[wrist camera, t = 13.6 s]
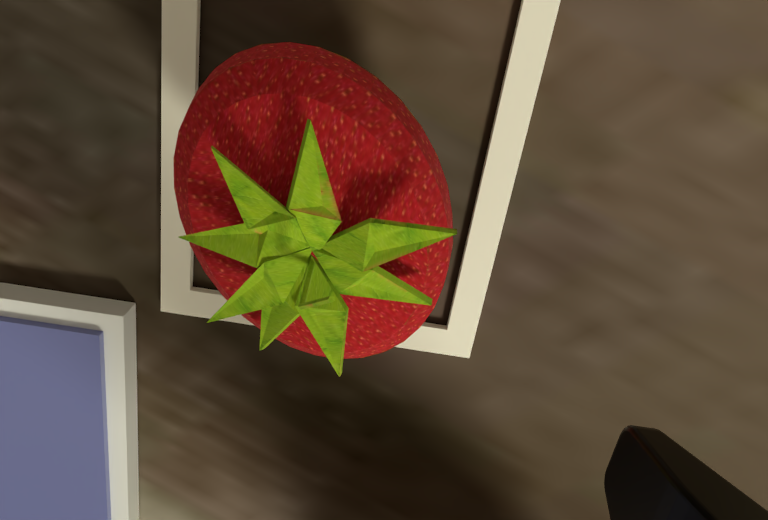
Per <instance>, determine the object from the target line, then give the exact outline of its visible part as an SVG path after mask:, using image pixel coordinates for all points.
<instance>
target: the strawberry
mask: <svg viewBox="0 0 768 520" xmlns="http://www.w3.org/2000/svg"><path fill="white" fill-rule="evenodd" d="M173 160H174V190H175V195H176V201H177V206H178V211H179V216H180V219H181V222H182V225H183V227H184V230H185V233H186V235H184V236H179V238H181V239H183V240H186V241H189V243H190V246H191V248H192V250H193V252H194V253H195V255H196V257H197V259H198V261H199V262H200V264H201V266H202V268H203V270H204V271H205V273H206V274H207V276H208V277H209V278H210V280H211V281H212V282H213V284H214V285H215V286H216V288H217V289H218V290H219V292H220V293H221V294H222V296H223V297H224V298H225V299H226V300H227V302H226V303H225V304H224V305H223V306H222V307H221V308H220V309H219V310H218V311H217V312H216V313H215V314H214V315H213V316H212V317H211V318H210V319H209V320H208V322H207V323H209V322H213V321H217V320H221V319H225V318H229V317H233V316H237V315H242V316H243V317H244V318H246V319H247V320H248V321H250V322H251V323H252V324H254V325H255V326H256V327H258V328H259V329H260V330H261V331H260V350H263V349H265V348H266V347H267V346H268V345H269V344H270V343H271V342H272V341H273V340H274V339H277V340H278V341H280V342H282V343H284V344H286V345H288V346H290V347H292V348H295V349H298V350H301V351H304V352H307V353H310V354H313V355H317V356H323V357H327V358H328V360H329V362H330V363H331V365H332V366H333V368H334V370H335V371H336V373H337V374H338V376H339V377H340V375H341V374H342V367H343V359H348V358H364V357H367V356H371V355H375V354H379V353H383V352H385V351H387V350H389V349H391V348H393V347H395V346H397V345H399V344H401V343H402V342H404V341H405V340H406V339H407V338H409V337H410V336H411V335H412V334H413V333H414V332H415V331H417V330H418V329H419V328H420V327H421V326H422V324H423V323H424V322H425V320H426V319H427V317H428V316H429V315H430V313H431V312H432V310H433V309H434V307H435V305H436V302H437V300H438V298H439V295H440V293H441V290H442V288H443V286H444V282H445V279H446V275H447V271H448V267H449V262H450V256H451V251H452V246H453V235H456V234H457V229H453V225H452V210H451V204H450V197H449V190H448V185H447V182H446V179H445V176H444V173H443V171H442V168H441V165H440V162H439V159H438V156H437V154H436V152H435V150H434V149H433V147H432V145H431V143H430V141H429V139H428V138H427V136H426V134H425V132H424V130H423V128H422V126H421V125H420V124H419V123H418V121H417V120H416V119H415V117H414V116H413V115H412V113H411V112H410V111H409V110H408V108H407V107H406V106H405V104H404V103H403V102H402V100H401V99H400V98H399V97H397V96H396V95H395V94H394V93H393V92H392V91H391V90H390V89H389V88H388V87H387V86H386V85H385V84H384V83H382V82H381V81H380V80H379V79H378V78H377V77H376V76H374V75H373V74H371V73H370V72H368V71H367V70H365V69H364V68H362V67H361V66H359V65H357V64H356V63H354V62H353V61H351V60H350V59H348V58H345V57H343V56H341V55H338V54H336V53H333V52H331V51H328V50H326V49H323V48H321V47H317V46H311V45H305V44H299V43H293V42H282V43H269V44H260V45H257V46H255V47H252V48H249V49H246V50H243V51H241V52H238V53H235V54H234V55H233V56H231V57H230V58H228V59H227V60H226V61H224V62H223V63H222V64H220V65H219V66H217V67H216V68H215V69H214V70H213V71H212V72H211V74H210V75H209V76H208V77H207V79H206V80H205V81H204V82H203V84H202V85H201V86H200V88H199V89H198V90H197V92H196V94H195V96H194V98H193V100H192V102H191V104H190V106H189V108H188V110H187V113H186V115H185V117H184V119H183V122H182V124H181V126H180V129H179V131H178V137H177V142H176V148H175V153H174V158H173ZM260 350H259V351H260Z"/></svg>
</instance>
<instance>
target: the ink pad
mask: <svg viewBox="0 0 768 520" xmlns="http://www.w3.org/2000/svg"><path fill="white" fill-rule="evenodd" d="M0 520H139V478H138V417H137V355H136V303H133V302H127V301H120V300H114V299H107V298H100V297H94V296H87V295H81V294H74V293H68V292H61V291H54V290H48V289H41V288H35V287H28V286H22V285H15V284H8V283H2V282H0Z"/></svg>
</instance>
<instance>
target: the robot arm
mask: <svg viewBox="0 0 768 520" xmlns="http://www.w3.org/2000/svg"><path fill="white" fill-rule="evenodd" d="M604 485H605V493H606V498H607V503H608V509H609V514H610V519H611V520H768V511H767V510H765V509H764V508H763V507H761V506H760V505H759V504H757V503H756V502H755V501H753V500H752V499H751V498H749V497H748V496H747V495H745V494H744V493H743V492H741V491H740V490H739V489H737V488H736V487H735V486H733V485H732V484H731V483H729V482H728V481H727V480H725V479H724V478H723V477H721V476H720V475H719V474H717V473H716V472H715V471H713V470H712V469H711V468H709V467H708V466H707V465H705V464H704V463H703V462H701V461H700V460H699V459H697V458H696V457H695V456H693V455H692V454H691V453H689V452H688V451H687V450H685V449H684V448H683V447H681V446H680V445H679V444H677V443H676V442H675V441H673V440H672V439H671V438H669V437H668V436H667V435H665V434H664V433H663V432H661V431H660V430H657V429H654V428H647V427H640V426H633V425H630V426H627V427H625V428H624V430H623V431H622V432H621V434H620V437H619V439H618V442H617V444H616V447H615V449H614V452H613V454H612V457H611V459H610V462H609V464H608V467H607V470H606V473H605V480H604Z"/></svg>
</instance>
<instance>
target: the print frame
mask: <svg viewBox="0 0 768 520" xmlns="http://www.w3.org/2000/svg"><path fill="white" fill-rule="evenodd" d="M560 1H561V0H522V1H521V5H520V10H519V14H518V18H517V23H516V27H515V31H514V36H513V40H512V44H511V49H510V53H509V57H508V62H507V66H506V70H505V75H504V79H503V83H502V88H501V92H500V96H499V101H498V105H497V109H496V114H495V118H494V122H493V127H492V131H491V135H490V140H489V144H488V149H487V153H486V157H485V162H484V166H483V170H482V175H481V179H480V183H479V188H478V192H477V196H476V201H475V205H474V209H473V214H472V218H471V222H470V227H469V231H468V235H467V240H466V244H465V248H464V253H463V257H462V261H461V266H460V270H459V274H458V279H457V283H456V287H455V292H454V296H453V300H452V305H451V309H450V313H449V318H448V322H447V326H446V325H440V324H433V323H427V322H424V323H423V324H422V326H421V327H420V328H419V329H418V330H417V331H415V332H414V333H413V334H412V335H411V336H410V337H409V338H407V339H406V340H405V341H404V342H402V343H401V344H399V345H397V346H395V347H399V348H406V349H412V350H419V351H426V352H432V353H439V354H445V355H452V356H459V357H465V358H469V357H470V353H471V349H472V345H473V342H474V338H475V334H476V330H477V326H478V322H479V318H480V314H481V310H482V306H483V302H484V298H485V295H486V291H487V287H488V283H489V279H490V275H491V271H492V267H493V263H494V259H495V255H496V251H497V247H498V244H499V240H500V236H501V232H502V228H503V224H504V220H505V216H506V212H507V208H508V204H509V200H510V197H511V193H512V189H513V185H514V181H515V177H516V173H517V169H518V165H519V161H520V157H521V153H522V149H523V146H524V142H525V138H526V134H527V130H528V126H529V122H530V118H531V114H532V110H533V106H534V102H535V99H536V95H537V91H538V87H539V83H540V79H541V75H542V71H543V67H544V63H545V59H546V55H547V51H548V48H549V44H550V40H551V36H552V32H553V28H554V24H555V20H556V16H557V12H558V8H559V4H560ZM200 8H201V0H162V64H161V311H162V312H169V313H176V314H182V315H189V316H195V317H202V318H209V319H210V318H211V317H212V316H213V315H214V314H215V313H216V312H217V311H218V310H219V309H220V308H221V307H222V306H223V305H224V304H225V303H226V302H227V300H226V299H225V298H224V297H223V296H222V294H221V293H220V292H219V291H218V290H212V289H205V288H199V287H193V258H194V252H193V250H192V248H191V246H190V243H189V241H186V240H183V239H181V238H179V236H184V235H186V233H185V230H184V227H183V225H182V222H181V219H180V216H179V211H178V206H177V201H176V195H175V190H174V160H173V158H174V153H175V148H176V142H177V137H178V131H179V129H180V126H181V124H182V122H183V119H184V117H185V115H186V113H187V110H188V108H189V106H190V104H191V102H192V100H193V98H194V96H195V94H196V92H197V90H198V79H199V43H200ZM221 320H222V321H228V322H235V323H241V324H248V325H254V324H252V323H251V322H250V321H248V320H247V319H246V318H244V317H243V316H242V315H237V316H233V317H229V318H225V319H221Z"/></svg>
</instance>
